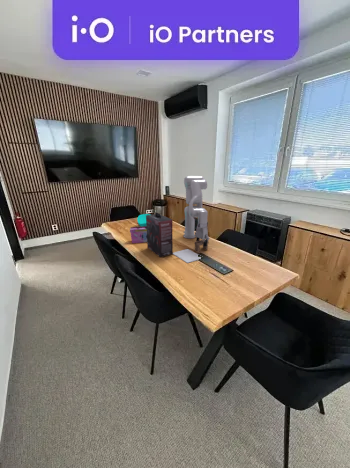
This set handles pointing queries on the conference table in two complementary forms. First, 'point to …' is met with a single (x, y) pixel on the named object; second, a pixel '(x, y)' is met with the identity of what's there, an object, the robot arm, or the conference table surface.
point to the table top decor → (142, 220)
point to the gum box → (138, 234)
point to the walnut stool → (200, 242)
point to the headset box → (159, 234)
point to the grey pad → (187, 255)
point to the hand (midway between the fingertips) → (201, 244)
